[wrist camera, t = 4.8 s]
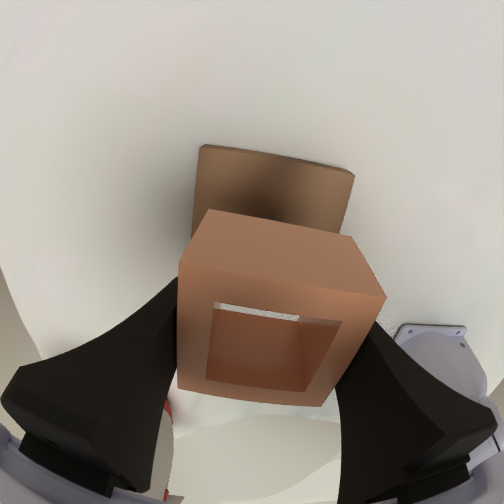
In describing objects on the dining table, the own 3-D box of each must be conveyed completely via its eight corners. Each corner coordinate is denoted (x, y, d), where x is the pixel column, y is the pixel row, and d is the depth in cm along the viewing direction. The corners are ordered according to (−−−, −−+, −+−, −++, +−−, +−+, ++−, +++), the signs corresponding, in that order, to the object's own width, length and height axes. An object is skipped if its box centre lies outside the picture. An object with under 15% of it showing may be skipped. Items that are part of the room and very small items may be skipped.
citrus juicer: (181, 435, 34) (160, 549, 17) (75, 390, 31) (31, 496, 14) (218, 392, 28) (195, 564, 10) (72, 329, 25) (-9, 480, 7)
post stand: (348, 170, 16) (380, 195, 12) (313, 288, 21) (326, 340, 16) (205, 144, 16) (180, 158, 11) (193, 269, 20) (174, 319, 15)
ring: (351, 236, 11) (386, 297, 7) (311, 338, 13) (320, 406, 10) (208, 208, 10) (178, 262, 7) (196, 320, 13) (177, 388, 9)
